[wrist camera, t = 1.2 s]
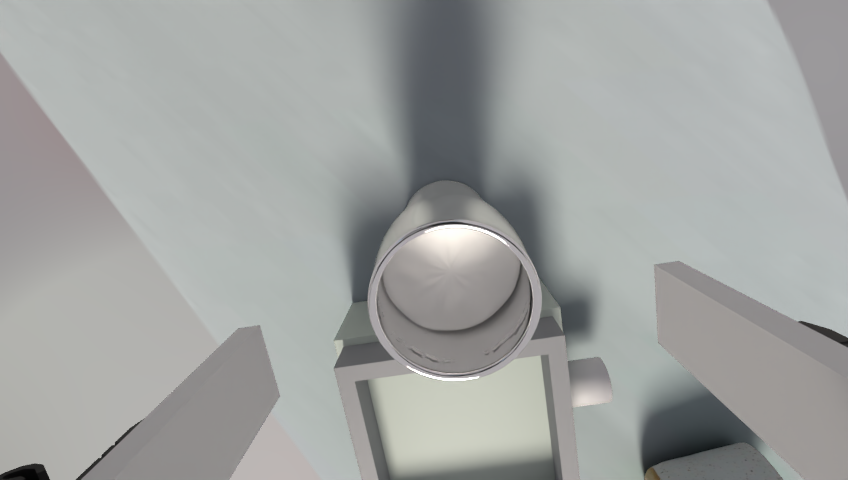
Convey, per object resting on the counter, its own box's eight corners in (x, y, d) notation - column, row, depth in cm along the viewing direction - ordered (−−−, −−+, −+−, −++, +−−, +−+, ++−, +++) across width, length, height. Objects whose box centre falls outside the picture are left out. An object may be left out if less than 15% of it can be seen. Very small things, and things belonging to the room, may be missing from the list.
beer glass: (378, 210, 30) (324, 281, 16) (459, 153, 29) (481, 174, 14) (433, 285, 31) (430, 416, 17) (512, 234, 30) (583, 328, 16)
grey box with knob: (352, 303, 32) (323, 361, 24) (578, 268, 31) (629, 317, 23) (388, 456, 35) (373, 554, 27) (593, 430, 34) (642, 525, 26)
